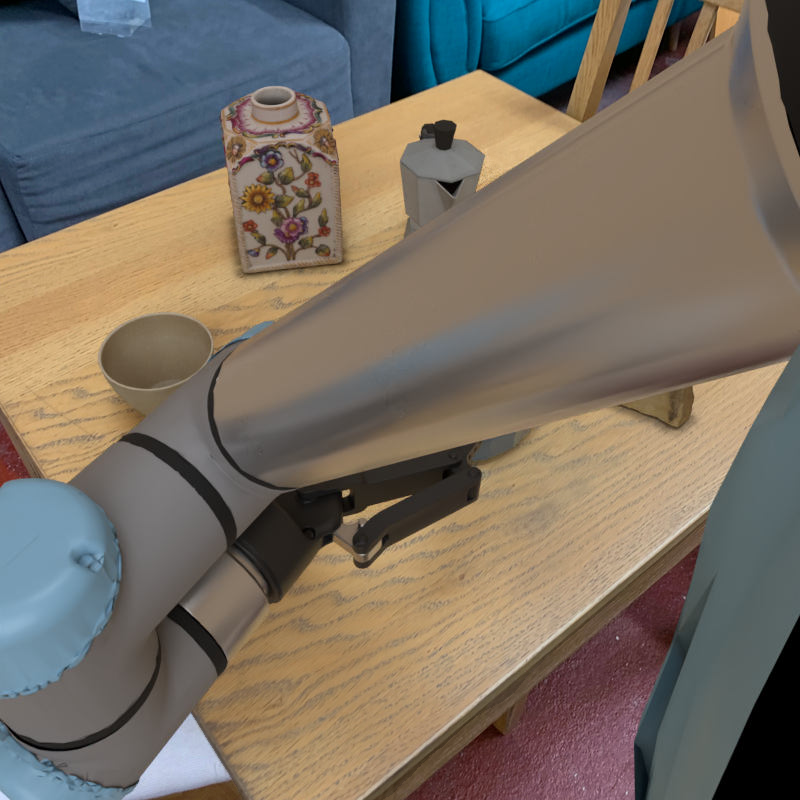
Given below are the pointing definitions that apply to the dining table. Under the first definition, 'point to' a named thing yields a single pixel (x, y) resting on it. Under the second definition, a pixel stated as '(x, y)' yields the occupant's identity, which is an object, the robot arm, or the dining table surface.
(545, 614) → the dining table surface
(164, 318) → the small beige bowl
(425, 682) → the dining table surface
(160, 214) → the dining table surface
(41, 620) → the robot arm
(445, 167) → the coffee maker
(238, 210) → the decorative jar
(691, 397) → the rock
